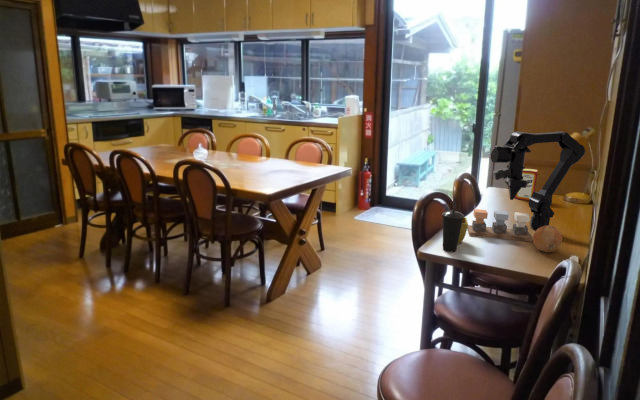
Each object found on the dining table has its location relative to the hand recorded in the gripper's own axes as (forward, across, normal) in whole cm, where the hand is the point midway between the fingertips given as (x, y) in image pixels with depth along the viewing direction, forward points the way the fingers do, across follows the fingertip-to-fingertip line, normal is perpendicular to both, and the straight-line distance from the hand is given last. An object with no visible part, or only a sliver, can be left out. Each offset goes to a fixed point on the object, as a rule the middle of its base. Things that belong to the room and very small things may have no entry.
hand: (511, 199), depth 199 cm
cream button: (+9, +9, +3) cm, 13 cm away
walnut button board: (+13, +9, -5) cm, 17 cm away
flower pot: (+13, +23, -24) cm, 36 cm away
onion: (+13, +24, +9) cm, 29 cm away
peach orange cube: (+9, +9, -13) cm, 18 cm away
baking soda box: (+13, -61, +19) cm, 65 cm away
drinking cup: (+13, +33, -26) cm, 44 cm away
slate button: (+9, +9, -5) cm, 14 cm away
